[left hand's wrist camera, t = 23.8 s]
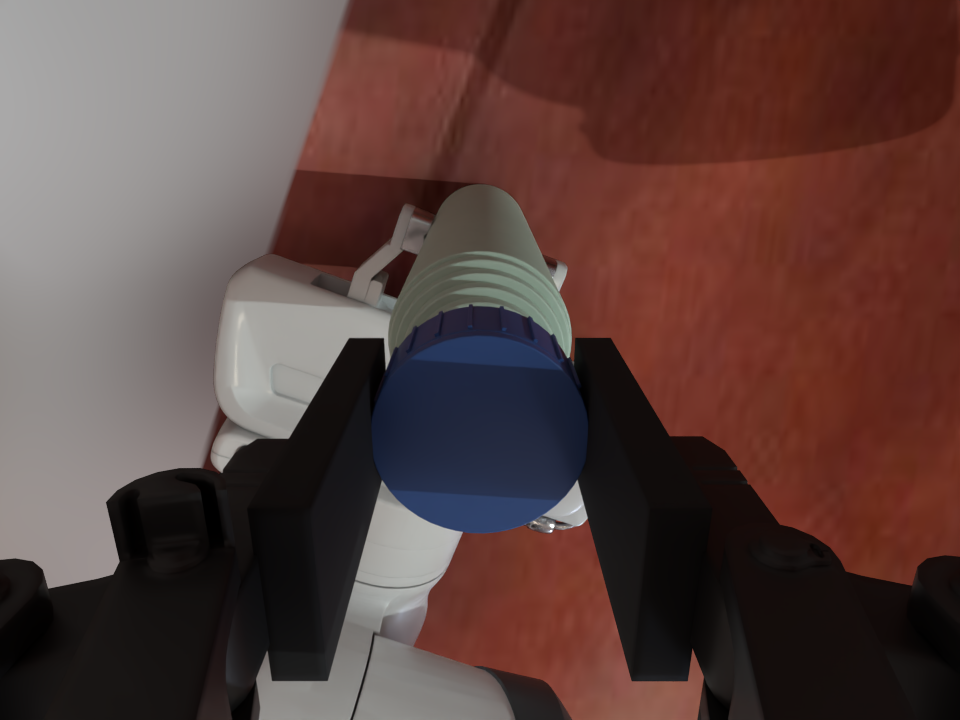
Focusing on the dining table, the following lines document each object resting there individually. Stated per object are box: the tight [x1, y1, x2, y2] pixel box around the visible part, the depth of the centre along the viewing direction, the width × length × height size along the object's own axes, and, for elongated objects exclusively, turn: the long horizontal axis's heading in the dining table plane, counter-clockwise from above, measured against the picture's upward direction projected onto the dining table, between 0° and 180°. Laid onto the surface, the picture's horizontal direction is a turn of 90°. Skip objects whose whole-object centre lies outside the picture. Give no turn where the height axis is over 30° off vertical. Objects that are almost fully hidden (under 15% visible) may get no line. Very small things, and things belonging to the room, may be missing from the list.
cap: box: [371, 304, 588, 533], centre depth 13 cm, size 4×4×2 cm
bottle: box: [388, 184, 572, 358], centre depth 24 cm, size 5×5×24 cm
